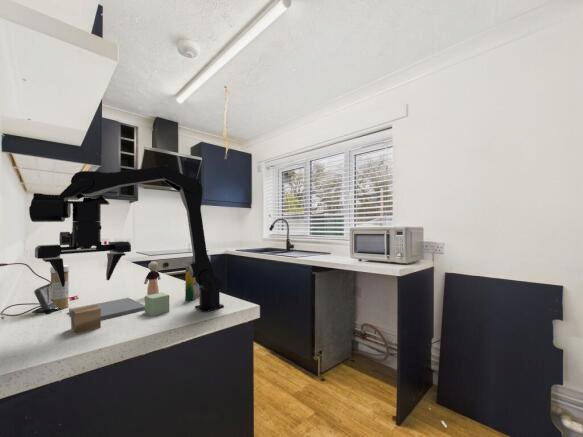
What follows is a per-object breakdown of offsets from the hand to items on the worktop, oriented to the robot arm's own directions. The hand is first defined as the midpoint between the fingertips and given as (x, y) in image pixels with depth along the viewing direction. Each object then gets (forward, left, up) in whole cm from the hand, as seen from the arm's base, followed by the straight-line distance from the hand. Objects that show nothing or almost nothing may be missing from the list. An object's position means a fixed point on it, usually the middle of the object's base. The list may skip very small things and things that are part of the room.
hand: (86, 283), depth 67 cm
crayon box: (+5, -32, -12) cm, 34 cm away
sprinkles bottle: (+28, +1, -12) cm, 30 cm away
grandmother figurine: (+19, -24, -12) cm, 33 cm away
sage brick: (-1, -17, -11) cm, 20 cm away
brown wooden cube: (0, 0, -11) cm, 11 cm away
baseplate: (+12, -8, -11) cm, 18 cm away
